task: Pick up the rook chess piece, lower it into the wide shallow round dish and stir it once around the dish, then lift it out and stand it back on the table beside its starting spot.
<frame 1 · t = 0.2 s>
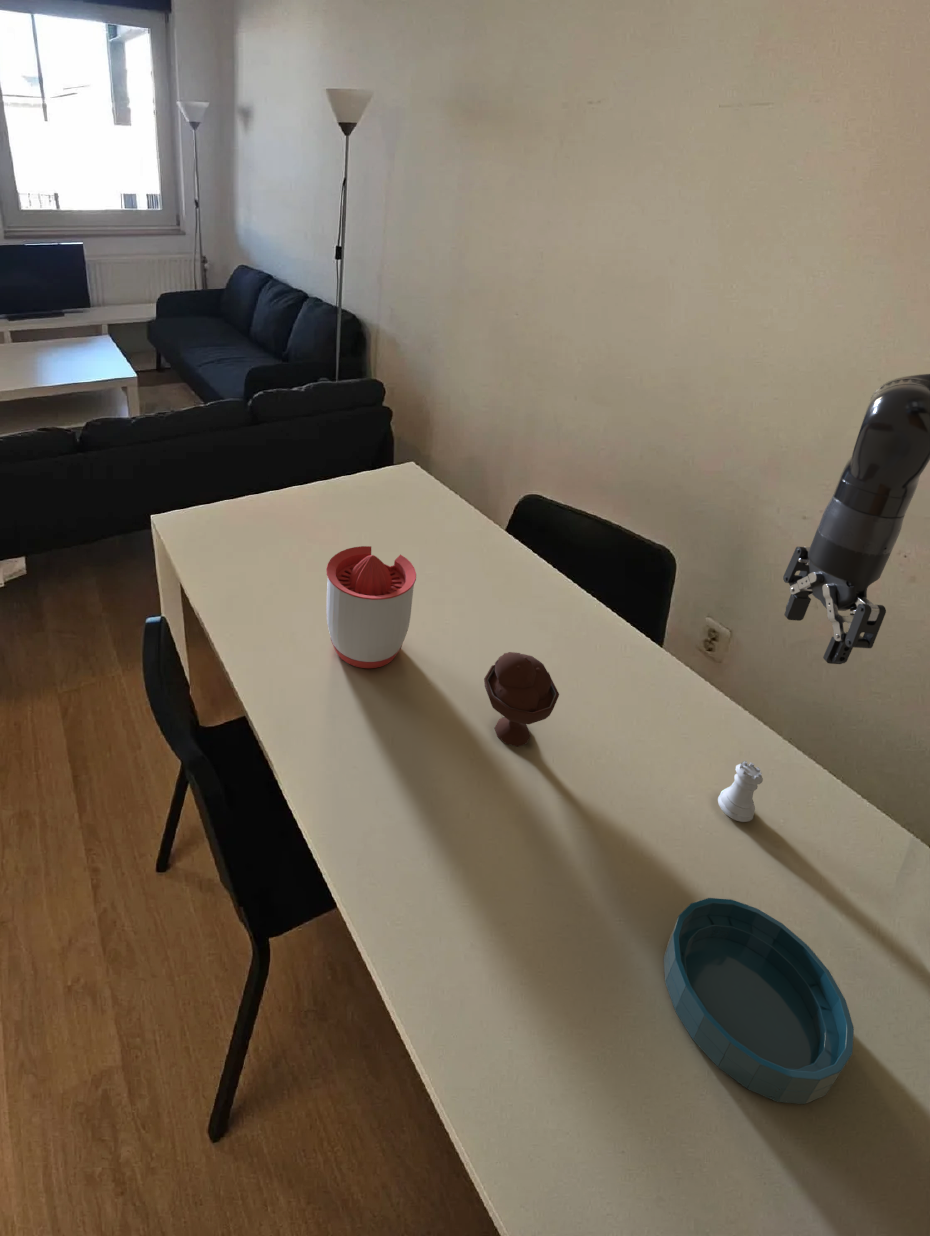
hand: (811, 639, 87), 26 cm above the table, tool pointing down, fingers open, 8 cm apart
citrus juicer: (367, 645, 120), on the table
rook chess piece: (734, 810, 92), on the table
ice cream bowl: (512, 733, 103), on the table
shallow round dish: (744, 1005, 70), on the table
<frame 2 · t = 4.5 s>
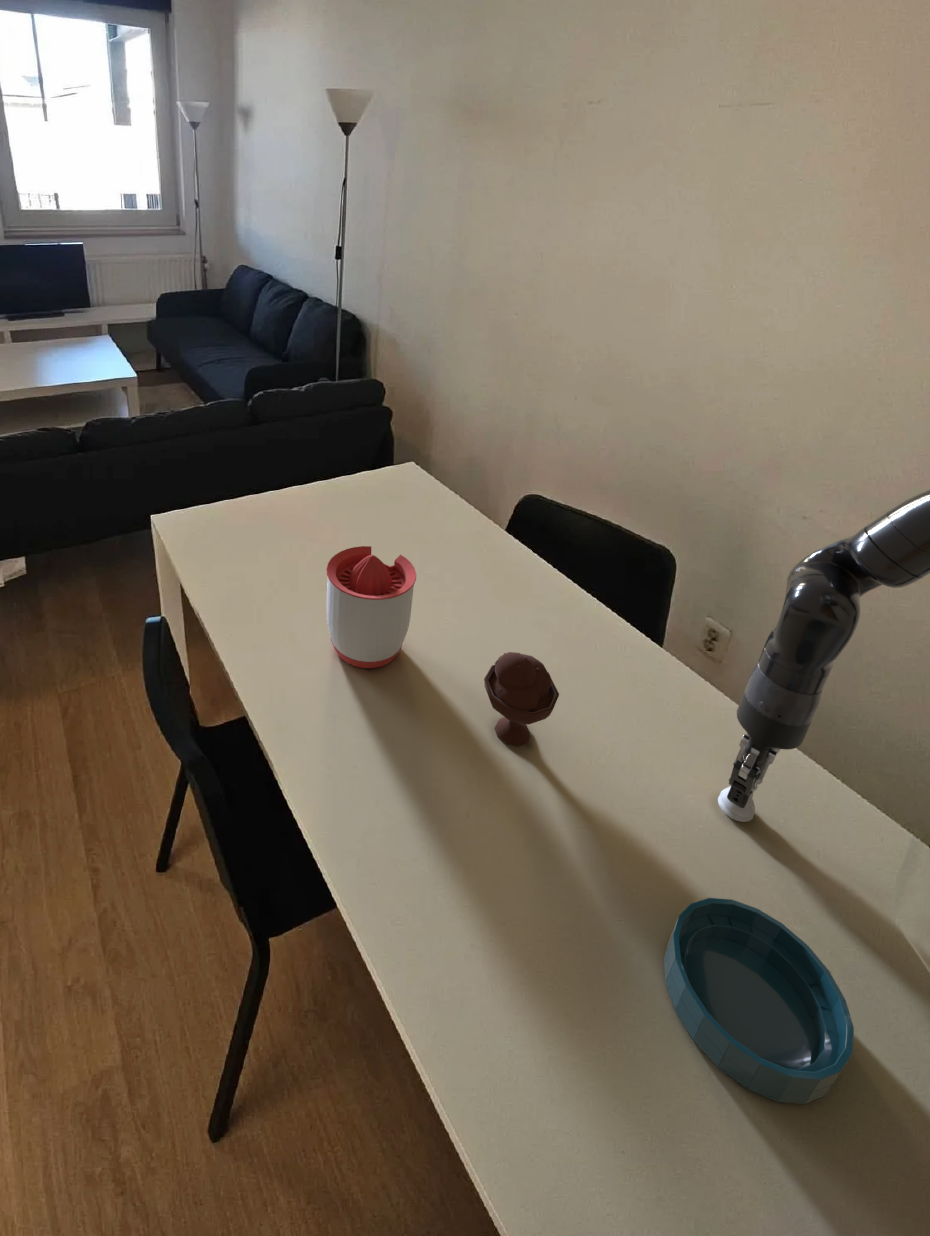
hand: (740, 793, 91), 3 cm above the table, tool pointing down, fingers closed on rook chess piece, 3 cm apart
rook chess piece: (734, 810, 92), on the table, touching gripper
everything else where it was.
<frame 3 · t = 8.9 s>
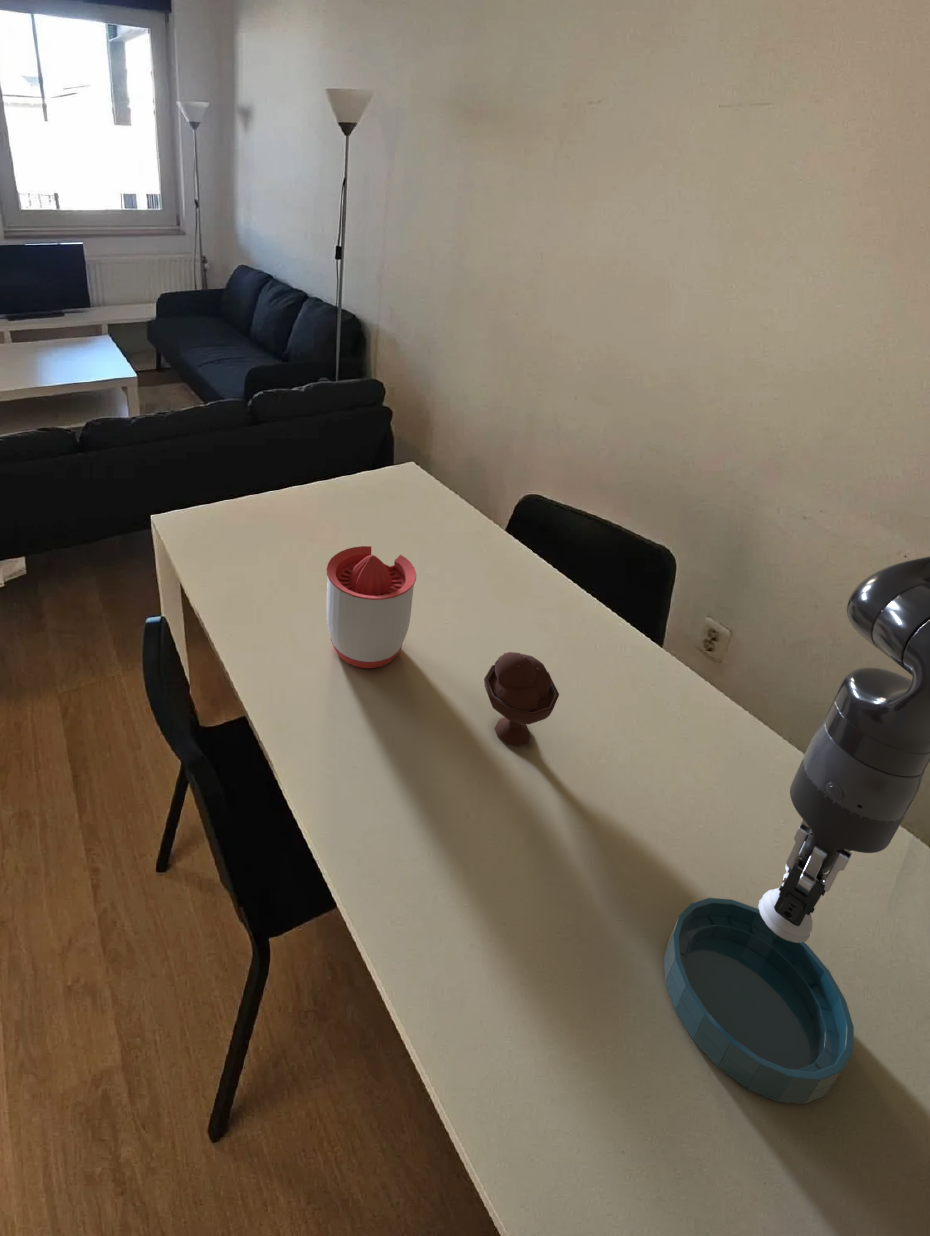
hand: (793, 902, 64), 17 cm above the table, tool pointing down, fingers closed on rook chess piece, 3 cm apart
rook chess piece: (781, 922, 66), point 13 cm above the table, touching gripper
everything else where it was.
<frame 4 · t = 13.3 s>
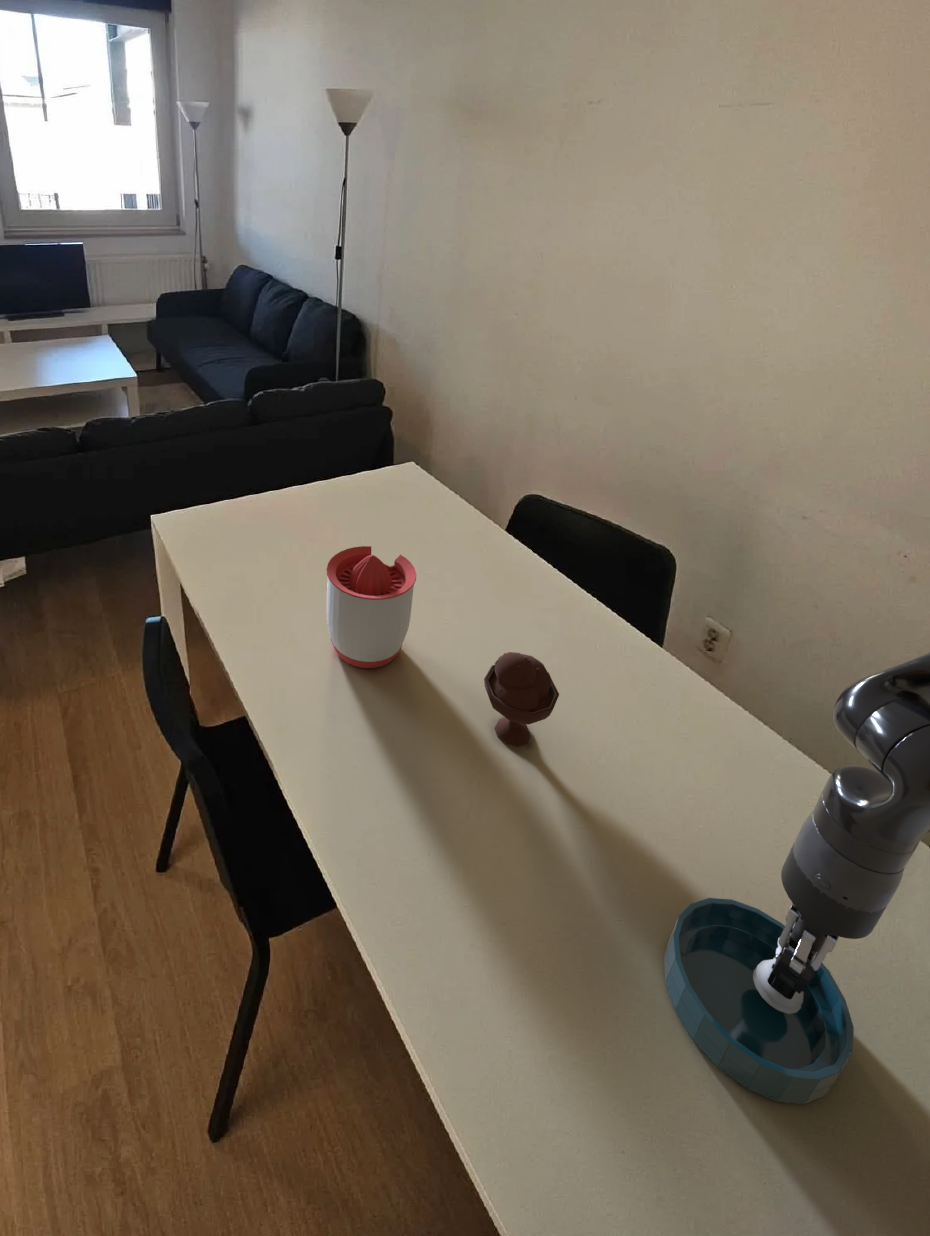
hand: (785, 974, 68), 5 cm above the table, tool pointing down, fingers closed on rook chess piece, 3 cm apart
rook chess piece: (775, 992, 70), point 2 cm above the table, touching gripper
everything else where it was.
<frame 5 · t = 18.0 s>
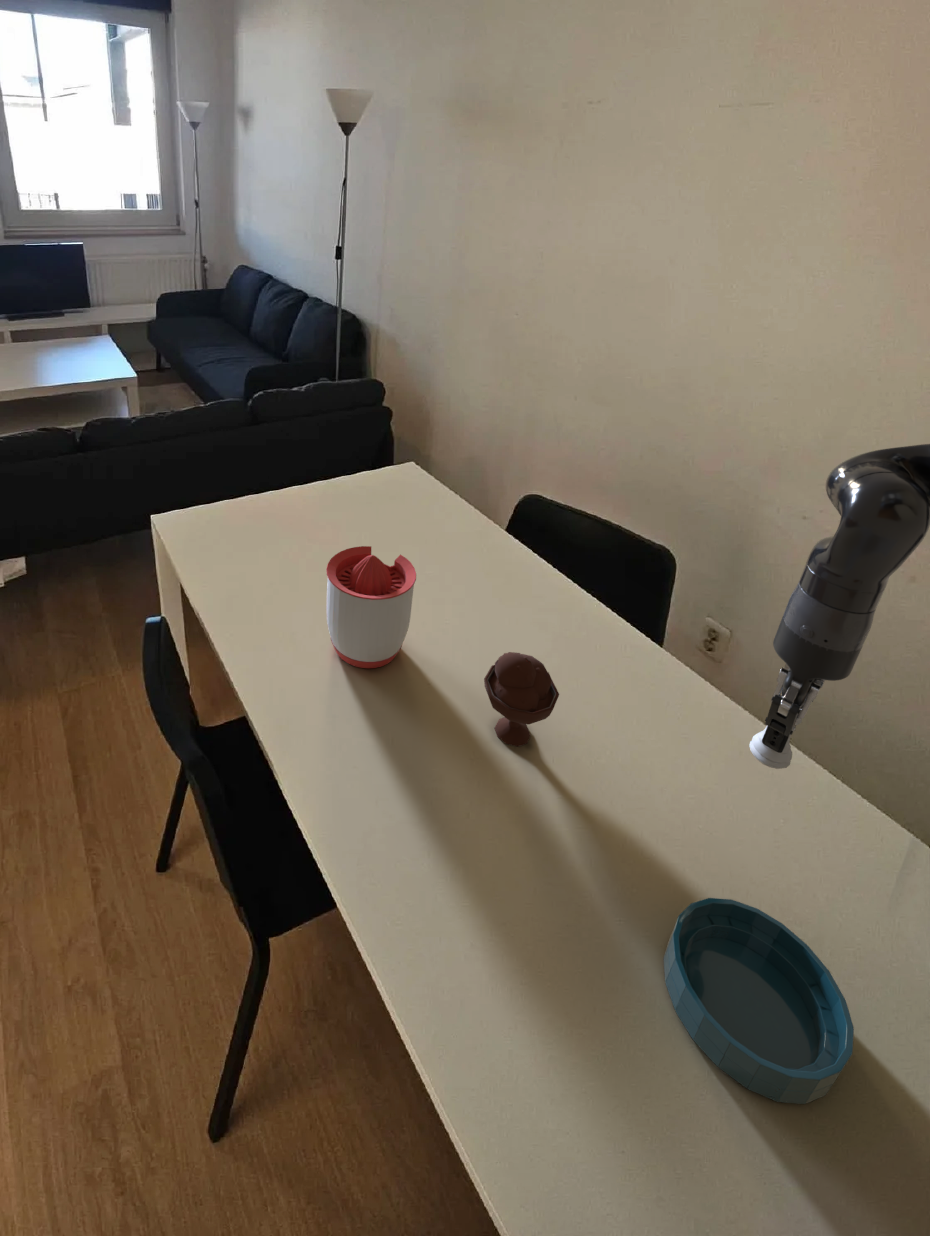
hand: (777, 737, 80), 19 cm above the table, tool pointing down, fingers closed on rook chess piece, 3 cm apart
rook chess piece: (768, 757, 82), point 15 cm above the table, touching gripper
everything else where it was.
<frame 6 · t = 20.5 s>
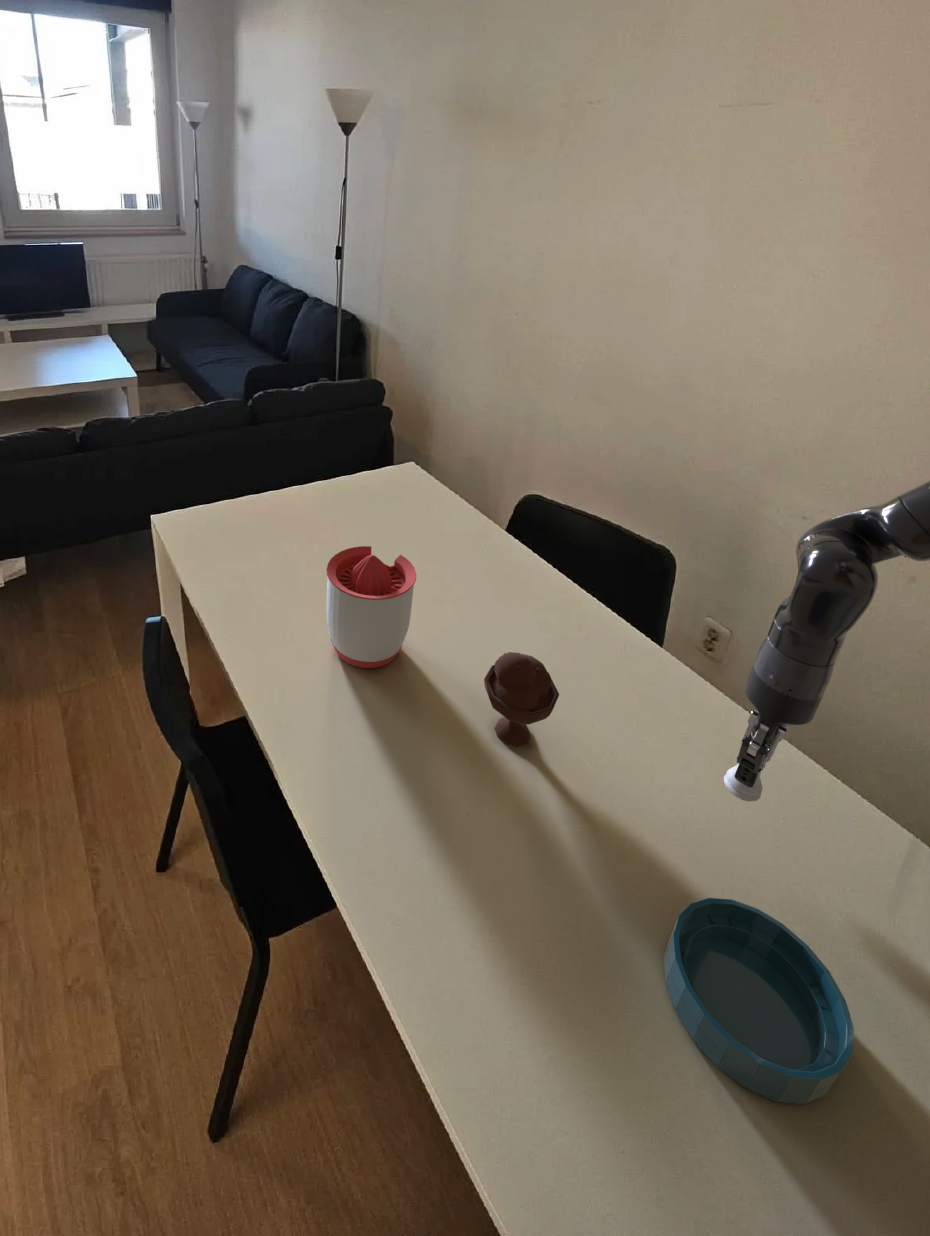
hand: (748, 773, 88), 8 cm above the table, tool pointing down, fingers closed on rook chess piece, 3 cm apart
rook chess piece: (740, 790, 89), point 5 cm above the table, touching gripper
everything else where it was.
when the fingers open (3 cm above the table, at t = 22.0 s): rook chess piece stays where it is, on the table.
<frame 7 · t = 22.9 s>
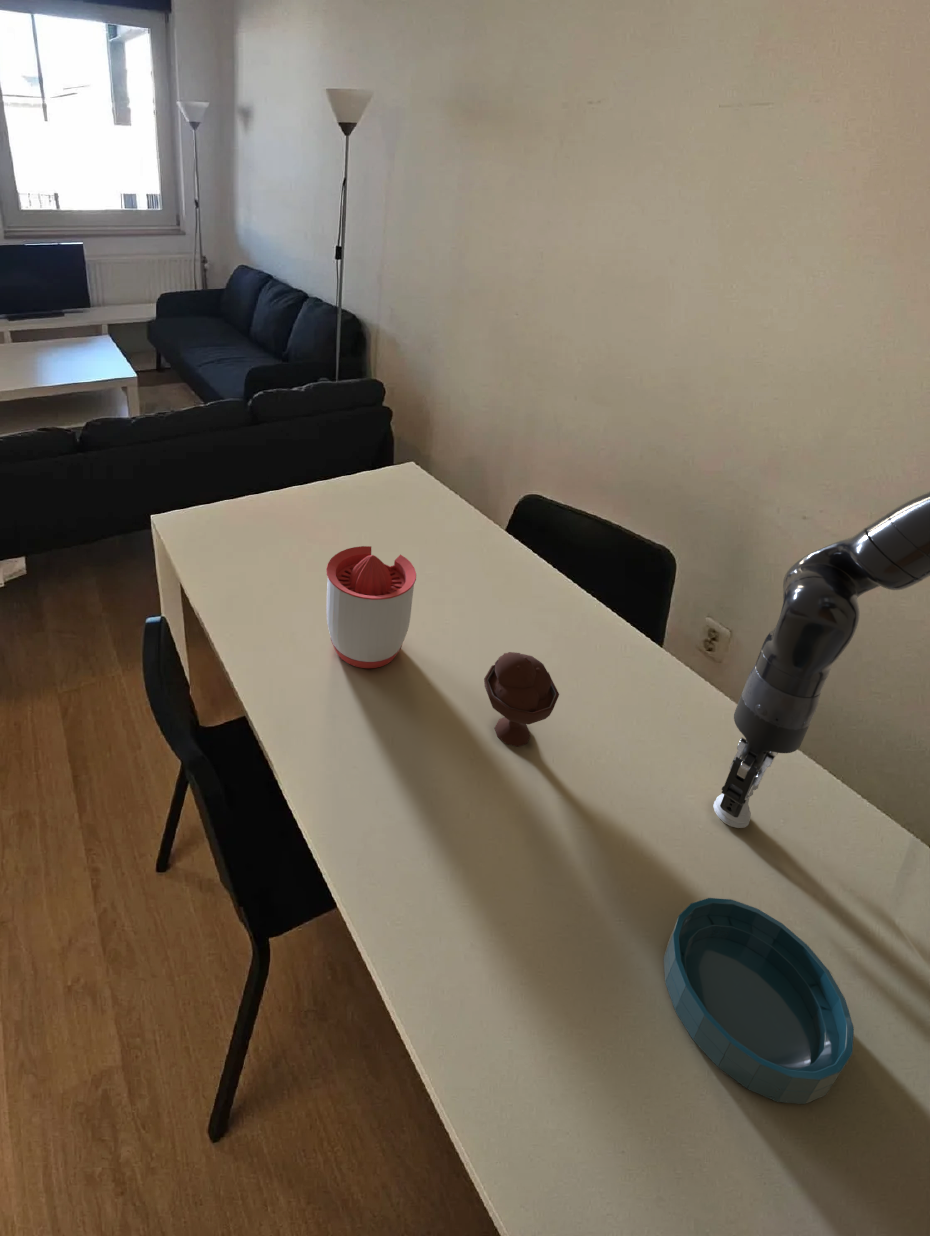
hand: (740, 793, 89), 4 cm above the table, tool pointing down, fingers open, 8 cm apart
rook chess piece: (729, 816, 91), on the table
everything else where it was.
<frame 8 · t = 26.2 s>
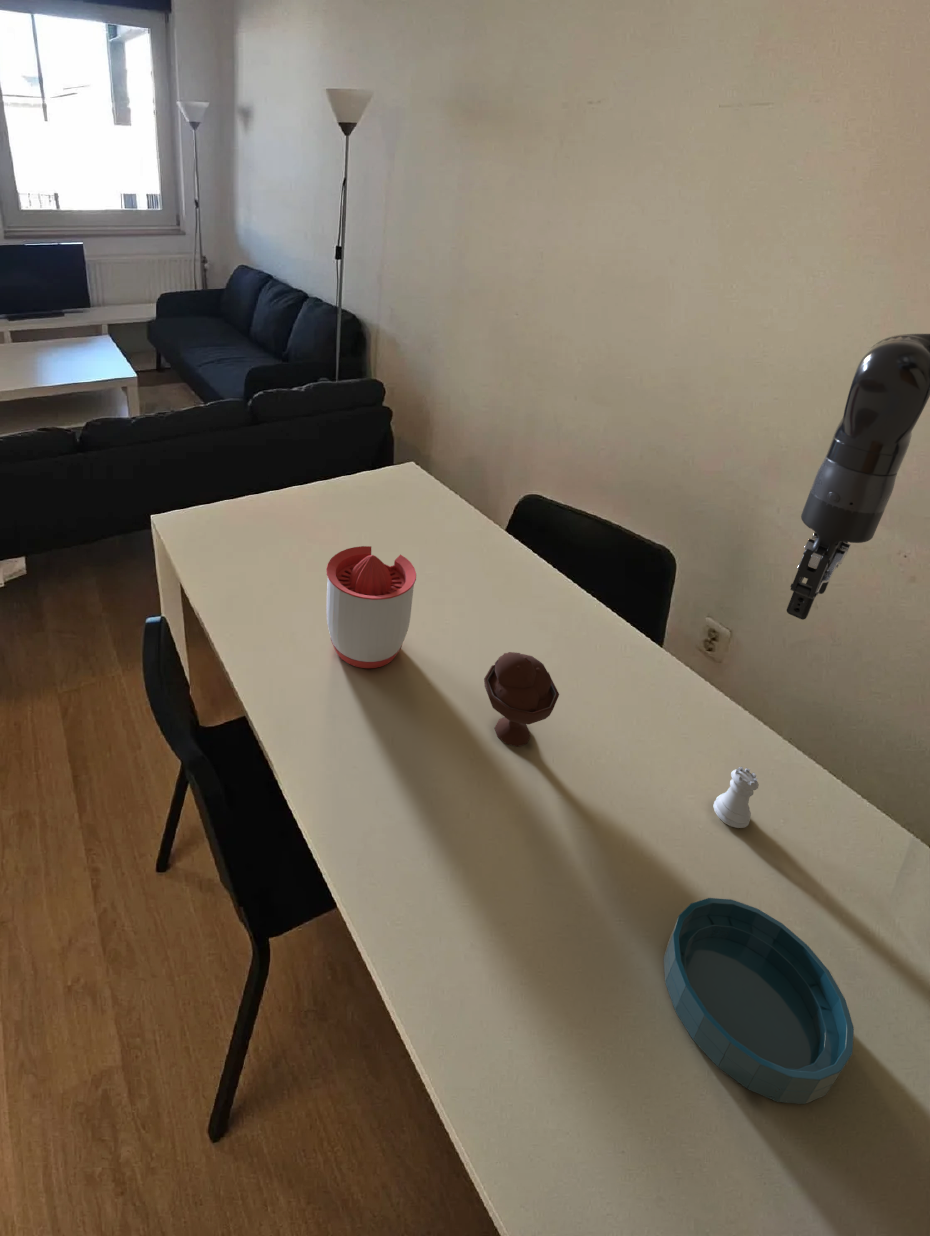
hand: (805, 602, 87), 30 cm above the table, tool pointing down, fingers open, 8 cm apart
nothing on the table moved.
at the end: rook chess piece inside the target area on the table beside the shallow round dish (0.6 cm from its centre), on the table; rook chess piece tilted 0°; the gripper is holding nothing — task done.
